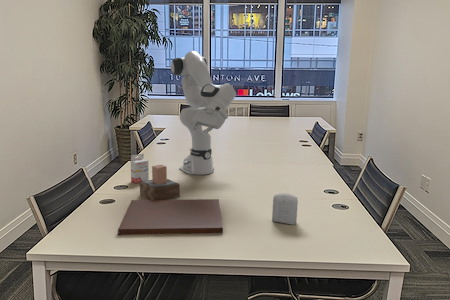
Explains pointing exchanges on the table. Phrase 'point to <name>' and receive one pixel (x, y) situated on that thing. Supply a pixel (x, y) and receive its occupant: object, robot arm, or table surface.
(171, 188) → the walnut pedestal
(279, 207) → the grey tombstone
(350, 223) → the table surface
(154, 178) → the terracotta block
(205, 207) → the brown wooden board
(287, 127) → the table surface
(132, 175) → the ink cartridge box
